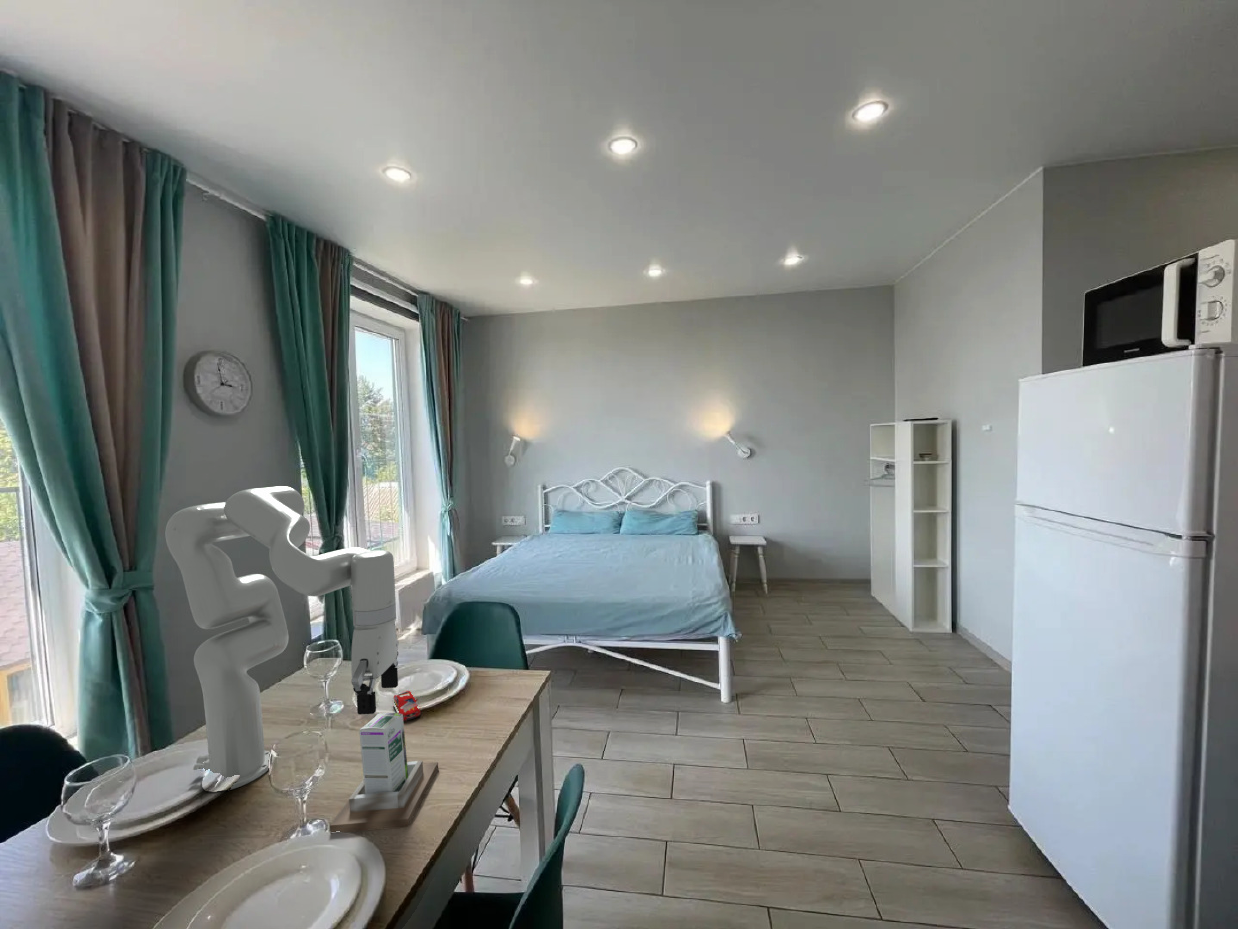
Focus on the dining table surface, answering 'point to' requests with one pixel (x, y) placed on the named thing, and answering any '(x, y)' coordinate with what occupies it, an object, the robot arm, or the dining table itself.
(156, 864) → the dining table surface
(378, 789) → the syrup box
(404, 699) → the race car
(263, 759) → the robot arm
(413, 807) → the socket board
